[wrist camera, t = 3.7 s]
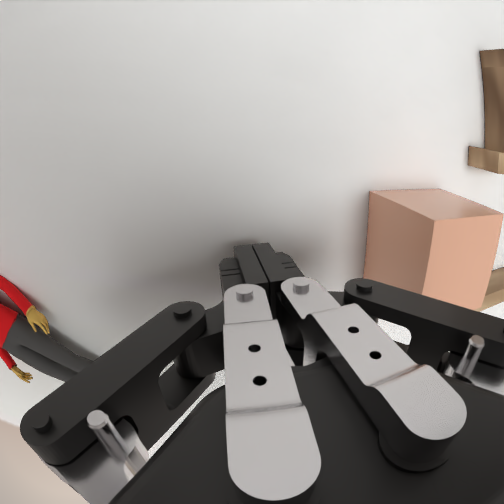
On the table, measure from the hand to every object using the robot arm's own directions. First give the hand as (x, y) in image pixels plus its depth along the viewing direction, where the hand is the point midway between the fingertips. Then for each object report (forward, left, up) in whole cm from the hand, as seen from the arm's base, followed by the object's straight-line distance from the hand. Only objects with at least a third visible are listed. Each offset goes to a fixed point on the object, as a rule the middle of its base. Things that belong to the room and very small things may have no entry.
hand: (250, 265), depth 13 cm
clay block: (0, +9, -1) cm, 9 cm away
